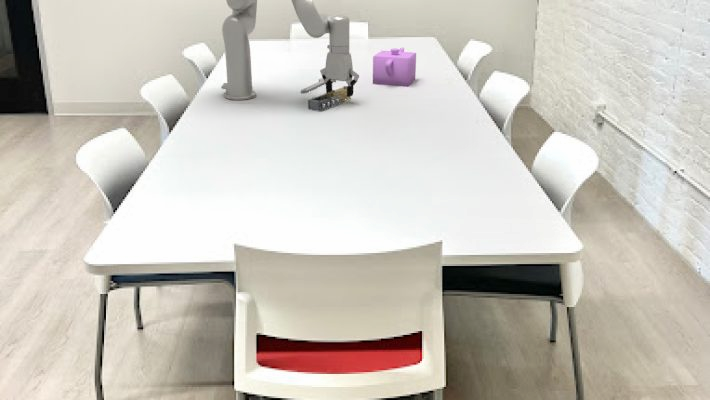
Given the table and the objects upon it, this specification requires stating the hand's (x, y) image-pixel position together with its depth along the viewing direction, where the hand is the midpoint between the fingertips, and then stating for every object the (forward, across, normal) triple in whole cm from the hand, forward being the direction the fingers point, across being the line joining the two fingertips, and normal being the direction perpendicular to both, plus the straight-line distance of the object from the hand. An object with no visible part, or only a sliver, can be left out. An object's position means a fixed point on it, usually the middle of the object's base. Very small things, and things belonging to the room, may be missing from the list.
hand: (339, 94), depth 290 cm
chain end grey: (+3, 0, -7) cm, 8 cm away
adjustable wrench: (+3, -21, +14) cm, 25 cm away
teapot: (+3, +1, +40) cm, 40 cm away
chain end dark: (+3, 0, -13) cm, 14 cm away
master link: (+3, 0, 0) cm, 3 cm away
